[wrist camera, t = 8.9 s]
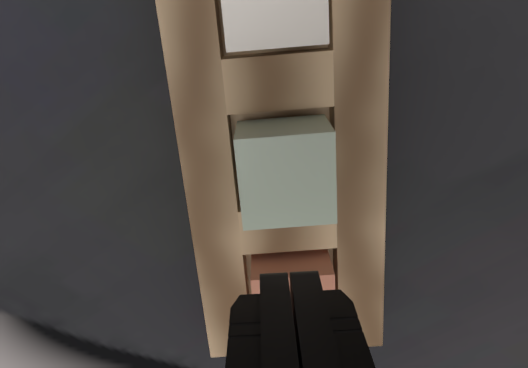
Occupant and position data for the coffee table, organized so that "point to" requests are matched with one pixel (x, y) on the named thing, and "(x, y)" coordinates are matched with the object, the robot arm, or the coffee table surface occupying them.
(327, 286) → the terracotta button
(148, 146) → the coffee table surface
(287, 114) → the wooden slotted tray
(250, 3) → the cream button
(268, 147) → the sage button
